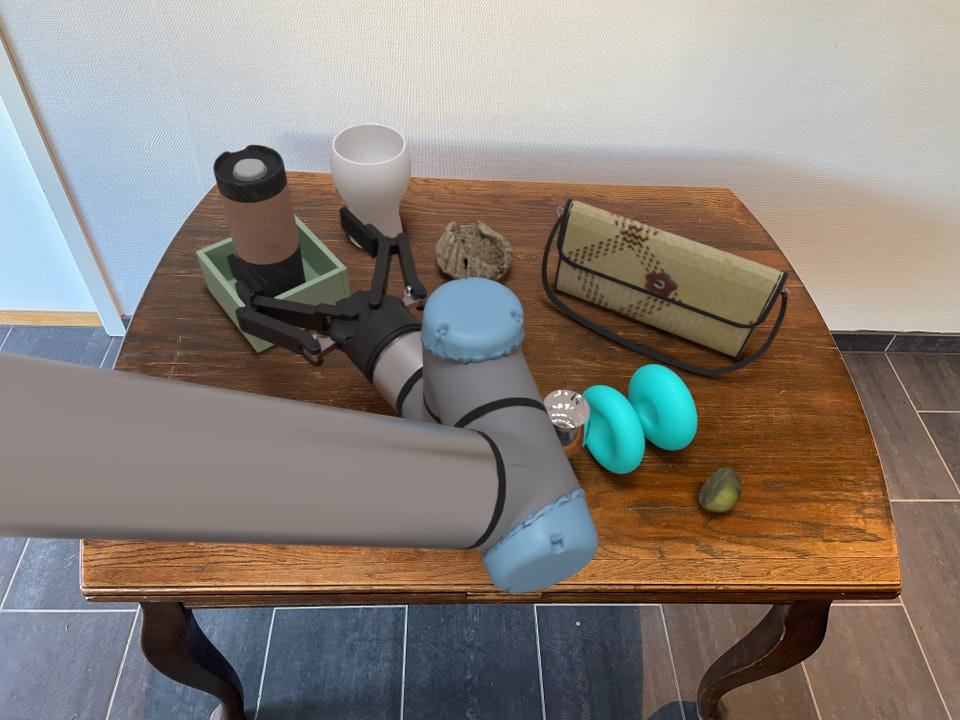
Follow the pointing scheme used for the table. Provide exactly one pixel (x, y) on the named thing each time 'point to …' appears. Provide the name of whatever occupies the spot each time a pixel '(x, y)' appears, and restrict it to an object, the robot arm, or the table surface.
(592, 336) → the table surface
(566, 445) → the wineglass
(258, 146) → the travel mug
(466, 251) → the seashell
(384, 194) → the cup
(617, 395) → the turquoise yo-yo
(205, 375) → the table surface
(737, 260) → the clutch purse
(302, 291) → the bin
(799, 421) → the table surface
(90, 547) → the table surface
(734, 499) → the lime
